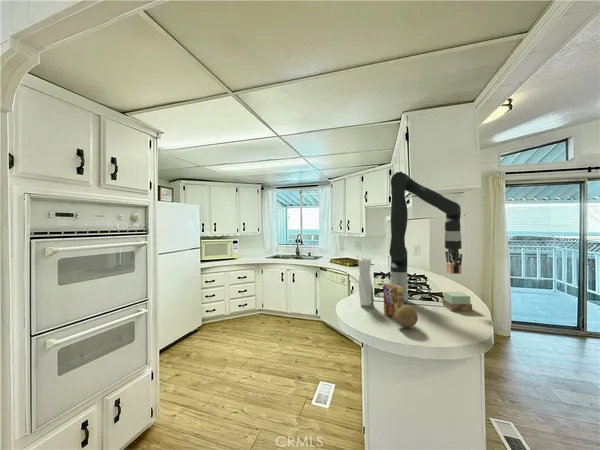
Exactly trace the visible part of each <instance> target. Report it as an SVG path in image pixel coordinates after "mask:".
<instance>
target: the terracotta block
mask: <svg viewBox="0 0 600 450" xmlns="http://www.w3.org/2000/svg"><path fill="white" fill-rule="evenodd" d="M445 265H446V273H448V274H450V275H461V274H462V264H461V265H460V266H459V273H454V265H453V263H448V262H446V264H445Z"/></svg>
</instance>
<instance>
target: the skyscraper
mask: <svg viewBox="0 0 600 450" xmlns="http://www.w3.org/2000/svg"><path fill="white" fill-rule="evenodd" d="M358 257H360V258H361V259H359V258H358ZM356 258H357V263H358V264H357V265H358V271H359V276H358V293H359V294H358V295H359V304H360V308H368V309H369V308H370V309H371V308H372V309H373V308H374V309H375V304H374V302H375V300H374V291H373V290H374V289H373V288H374V287H373V284H372V278H371V277H372V276H371V265H372V264H371V263H372V259H371V258H369V257H363V256H361V255H356Z"/></svg>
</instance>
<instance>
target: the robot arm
mask: <svg viewBox="0 0 600 450" xmlns="http://www.w3.org/2000/svg"><path fill="white" fill-rule="evenodd" d="M390 189H391V190H390V191H391V203H390V204H391V205H390V234H391V238H390V245H389V246H390V247H389V256H390V260H391V261H390V283H389V284H393V285H397V286H401V287H403V303H407V302H409V294H408V293H409V291H408V286H409V285H408V284H409V283H408V248H407V247H406V243H405V241H406V240H405V238H406V236H405V235H406V231H407V227H408V216H409V215H408V214H409V213H408V212H409V211H408V206H407V201H406V192H408V193H411V194H412V195H414V196H416V197H418V198H419V199H421V201H423V202H424V203H427V204H429V205H431V206H433V207H435V208H436V209H438V210H439V211H441V212H443V213H444V214H445V222H444V248H445V249H446V250H447V251H445V252H444V253H445V260H446V261H445V262H446V263H453V265H454V273H459V266H460V265H461V266H462V264H463V263H462V261H463V254H462V253H460V252H459V250H461V249H462V248H463V247H462V245H463V244H462V233H461V213H462V212H461V209H462V208H461V205H460V204H459V203H458V202H456V201H454V200H451V199H449V198H447V197H445V196H443V195H442V194H440V193H439V192H437V191H434V190H432V189H430V188H428V187H426V186H423V185H422V184H419V183H418V182H416V181H415V180H414V179H412V178H411V177H410V176H408V175H407V174H406V173H404V172H402V171H397V172H395V173H393V174H392V176H391V178H390Z"/></svg>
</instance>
